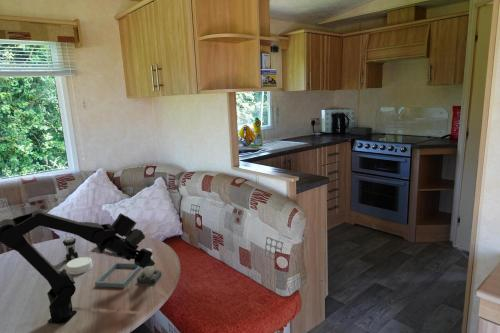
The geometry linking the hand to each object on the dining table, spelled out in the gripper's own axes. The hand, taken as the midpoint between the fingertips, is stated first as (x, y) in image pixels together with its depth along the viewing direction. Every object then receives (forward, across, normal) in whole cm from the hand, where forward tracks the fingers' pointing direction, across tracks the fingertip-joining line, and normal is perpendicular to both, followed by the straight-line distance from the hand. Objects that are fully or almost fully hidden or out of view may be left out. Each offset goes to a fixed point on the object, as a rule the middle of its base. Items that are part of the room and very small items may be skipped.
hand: (146, 261), depth 135 cm
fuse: (+6, 0, +5) cm, 8 cm away
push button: (0, +46, +13) cm, 48 cm away
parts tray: (+2, +12, +10) cm, 16 cm away
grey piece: (+6, 0, +6) cm, 9 cm away
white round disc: (-2, +34, +14) cm, 37 cm away
